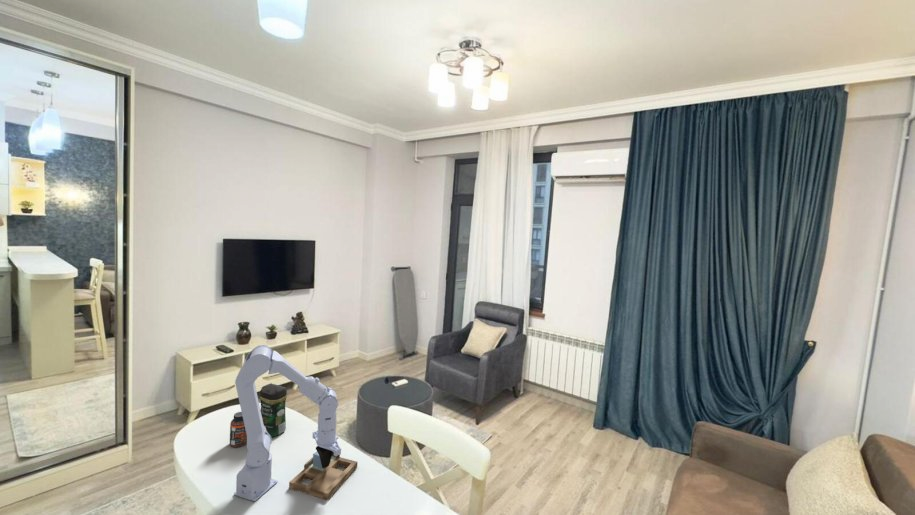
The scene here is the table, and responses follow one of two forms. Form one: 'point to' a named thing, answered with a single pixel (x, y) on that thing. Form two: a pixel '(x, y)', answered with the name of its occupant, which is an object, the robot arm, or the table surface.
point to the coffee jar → (273, 408)
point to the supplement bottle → (237, 431)
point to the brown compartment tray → (323, 477)
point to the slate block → (317, 460)
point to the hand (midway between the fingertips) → (325, 466)
